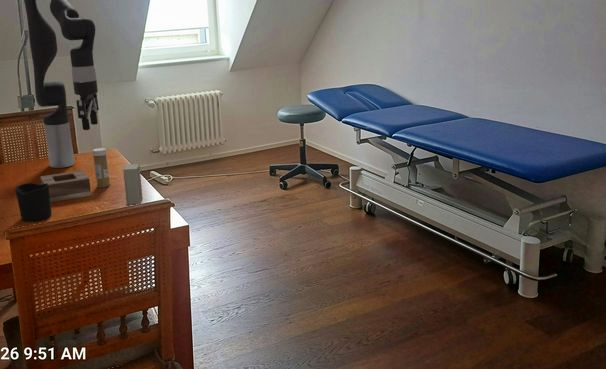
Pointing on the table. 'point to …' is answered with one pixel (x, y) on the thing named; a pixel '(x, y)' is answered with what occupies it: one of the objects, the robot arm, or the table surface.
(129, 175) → the skincare box
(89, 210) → the table surface
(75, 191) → the socket block
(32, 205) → the pen holder
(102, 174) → the sprinkles bottle
